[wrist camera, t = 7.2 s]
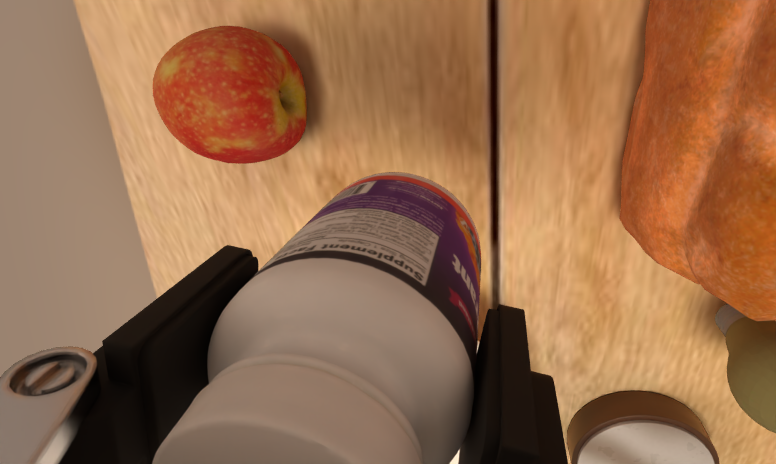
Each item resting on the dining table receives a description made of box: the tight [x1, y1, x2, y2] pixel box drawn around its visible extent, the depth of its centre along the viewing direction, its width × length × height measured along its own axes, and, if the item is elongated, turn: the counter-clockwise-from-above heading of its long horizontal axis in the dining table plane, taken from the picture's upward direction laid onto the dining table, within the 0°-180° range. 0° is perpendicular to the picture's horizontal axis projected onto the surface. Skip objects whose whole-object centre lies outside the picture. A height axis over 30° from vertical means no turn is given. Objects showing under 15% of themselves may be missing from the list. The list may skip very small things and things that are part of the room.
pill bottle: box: [152, 172, 481, 464], centre depth 11 cm, size 5×5×10 cm
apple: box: [153, 26, 307, 163], centre depth 28 cm, size 8×8×8 cm
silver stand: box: [567, 391, 719, 464], centre depth 35 cm, size 10×10×3 cm
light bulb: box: [715, 304, 776, 433], centre depth 26 cm, size 6×6×10 cm
